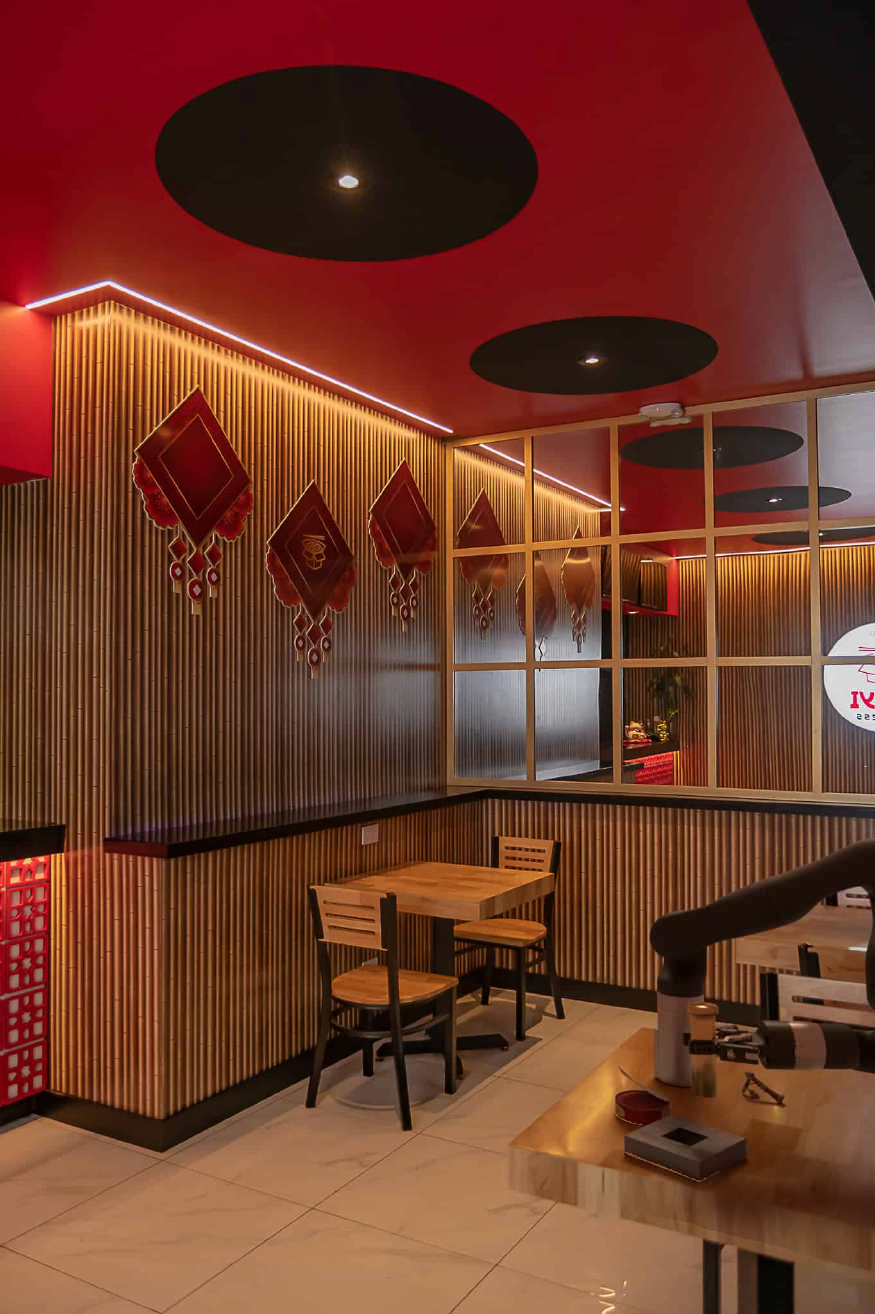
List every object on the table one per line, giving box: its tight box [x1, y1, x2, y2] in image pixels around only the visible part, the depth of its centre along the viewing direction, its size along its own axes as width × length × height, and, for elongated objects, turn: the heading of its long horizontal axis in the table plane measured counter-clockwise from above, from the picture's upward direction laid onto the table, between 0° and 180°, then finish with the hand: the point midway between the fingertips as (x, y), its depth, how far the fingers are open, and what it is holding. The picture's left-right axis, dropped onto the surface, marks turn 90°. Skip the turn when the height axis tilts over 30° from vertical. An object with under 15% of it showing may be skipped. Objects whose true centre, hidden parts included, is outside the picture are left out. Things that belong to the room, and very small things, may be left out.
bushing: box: [687, 1001, 719, 1099], centre depth 158 cm, size 5×5×14 cm
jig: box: [623, 1113, 747, 1181], centre depth 157 cm, size 14×14×3 cm
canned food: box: [614, 1066, 671, 1125], centre depth 174 cm, size 11×10×10 cm
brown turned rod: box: [741, 1071, 786, 1106], centre depth 183 cm, size 2×8×4 cm, turn 47°
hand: (686, 1042), depth 158 cm, fingers closed on bushing, 4 cm apart
